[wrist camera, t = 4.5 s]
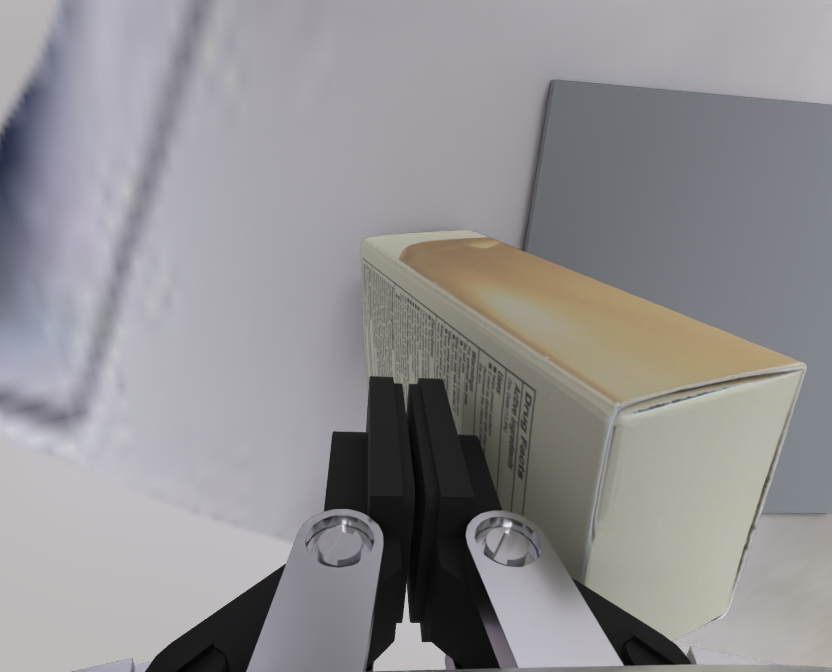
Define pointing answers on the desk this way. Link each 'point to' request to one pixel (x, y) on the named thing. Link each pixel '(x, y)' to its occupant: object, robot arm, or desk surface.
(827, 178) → the desk mat
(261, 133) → the desk surface
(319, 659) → the robot arm
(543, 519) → the skincare box
